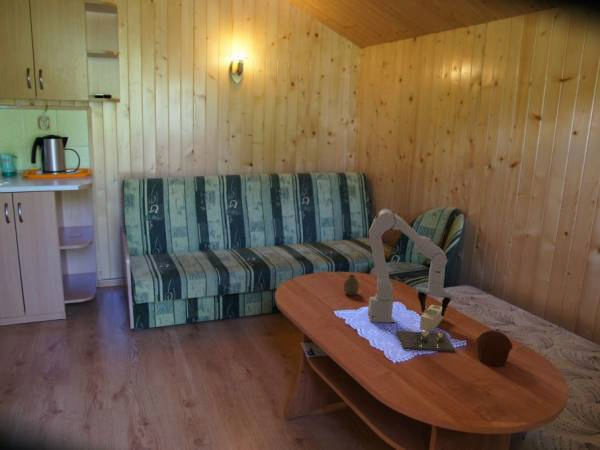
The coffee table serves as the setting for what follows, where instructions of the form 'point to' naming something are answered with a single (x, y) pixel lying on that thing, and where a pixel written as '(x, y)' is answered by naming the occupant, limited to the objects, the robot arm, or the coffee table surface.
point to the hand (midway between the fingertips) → (432, 313)
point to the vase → (351, 285)
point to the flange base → (425, 341)
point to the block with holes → (431, 318)
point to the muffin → (493, 348)
